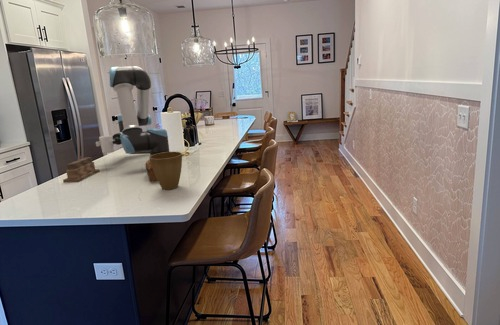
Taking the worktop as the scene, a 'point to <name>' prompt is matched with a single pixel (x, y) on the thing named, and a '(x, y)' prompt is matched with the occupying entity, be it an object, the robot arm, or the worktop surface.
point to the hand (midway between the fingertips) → (103, 143)
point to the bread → (150, 172)
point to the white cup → (106, 144)
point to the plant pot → (167, 168)
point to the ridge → (80, 170)
